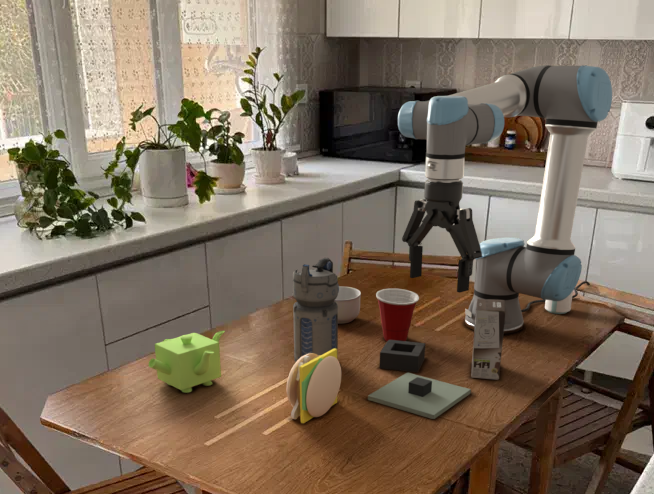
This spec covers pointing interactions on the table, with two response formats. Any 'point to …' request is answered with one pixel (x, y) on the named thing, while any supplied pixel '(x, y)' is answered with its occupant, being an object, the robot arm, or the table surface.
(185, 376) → the kettle
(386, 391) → the base pad
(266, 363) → the table surface
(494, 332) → the coffee box
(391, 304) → the plastic cup
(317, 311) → the beverage bottle
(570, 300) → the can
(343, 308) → the teacup
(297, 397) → the hamburger
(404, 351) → the dark gray square ring
